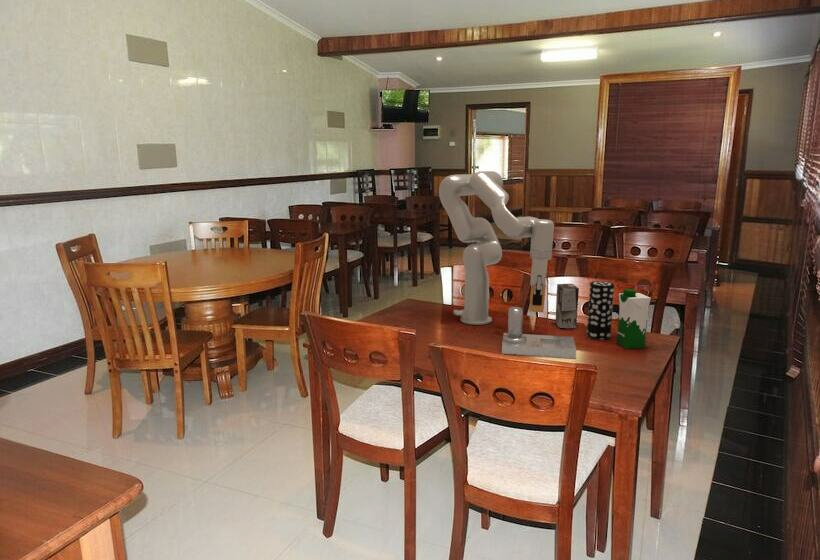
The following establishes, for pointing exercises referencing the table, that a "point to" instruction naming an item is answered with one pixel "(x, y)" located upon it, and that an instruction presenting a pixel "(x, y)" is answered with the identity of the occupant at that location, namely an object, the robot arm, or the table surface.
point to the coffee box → (566, 305)
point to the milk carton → (632, 319)
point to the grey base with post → (534, 340)
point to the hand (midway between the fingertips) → (536, 302)
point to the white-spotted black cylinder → (600, 310)
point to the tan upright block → (535, 307)
